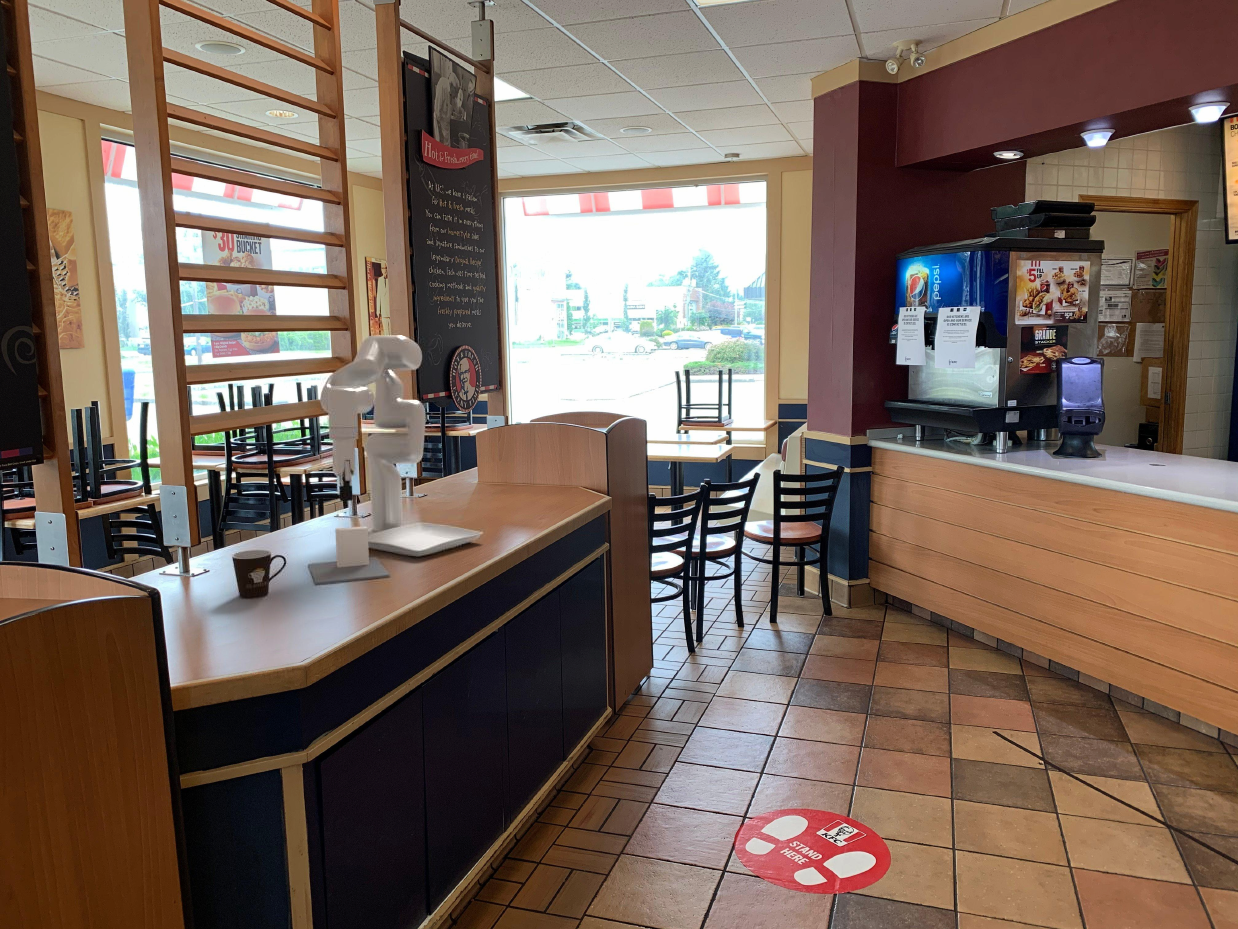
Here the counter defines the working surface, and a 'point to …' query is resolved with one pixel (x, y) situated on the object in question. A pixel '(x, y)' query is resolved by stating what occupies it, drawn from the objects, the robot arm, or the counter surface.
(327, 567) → the mat
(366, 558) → the tile
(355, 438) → the robot arm
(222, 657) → the counter surface
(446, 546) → the square plate
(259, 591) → the coffee mug
